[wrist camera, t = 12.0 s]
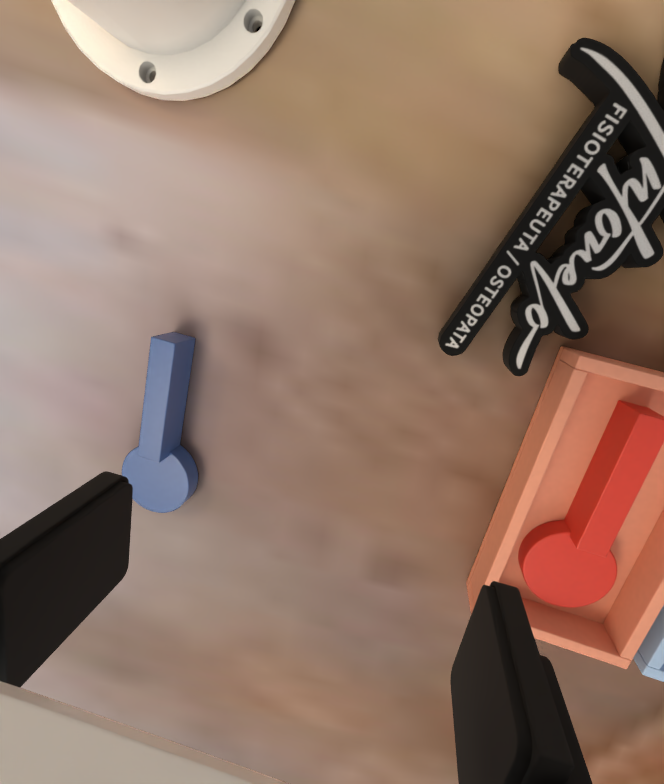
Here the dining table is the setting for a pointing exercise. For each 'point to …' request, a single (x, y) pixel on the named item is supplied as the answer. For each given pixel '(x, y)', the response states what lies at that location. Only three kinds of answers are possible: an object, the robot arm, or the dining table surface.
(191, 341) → the blue spoon
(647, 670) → the blue bin
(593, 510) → the red spoon
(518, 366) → the nameplate
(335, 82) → the dining table surface
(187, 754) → the robot arm
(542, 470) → the red bin
